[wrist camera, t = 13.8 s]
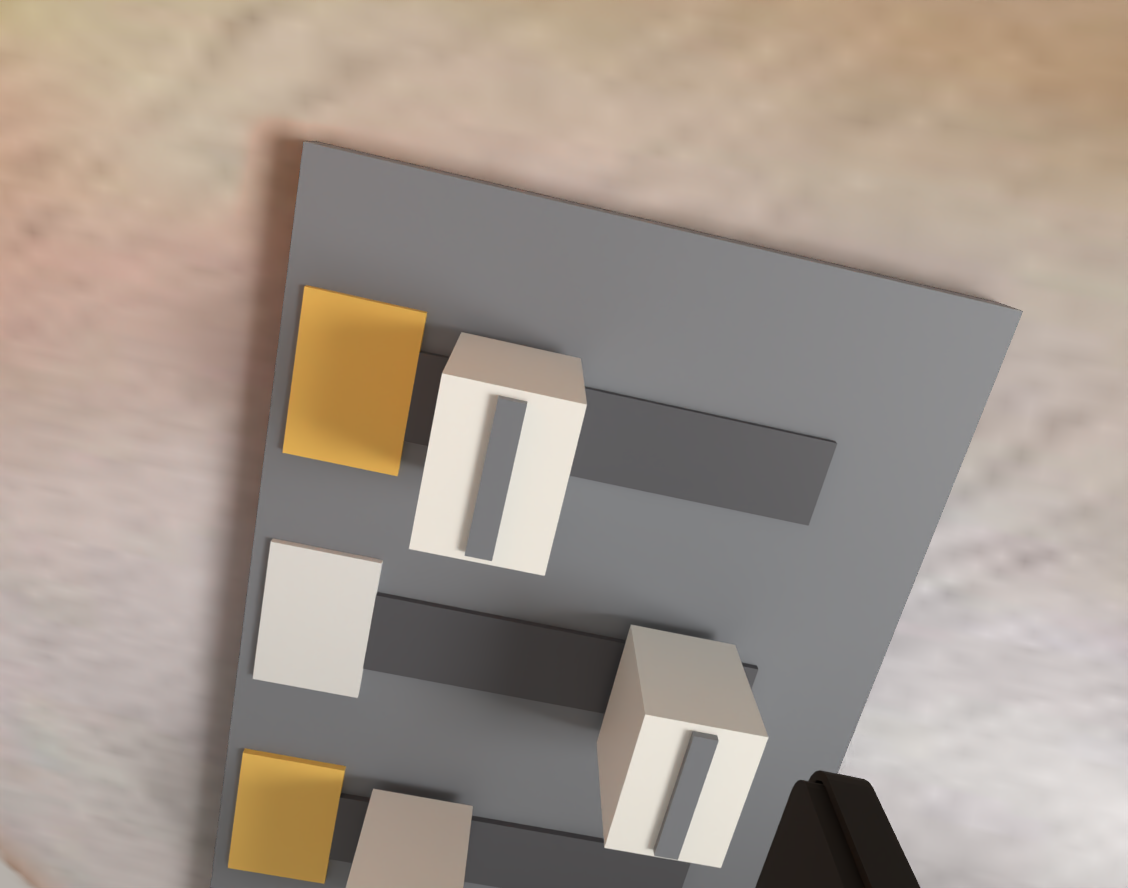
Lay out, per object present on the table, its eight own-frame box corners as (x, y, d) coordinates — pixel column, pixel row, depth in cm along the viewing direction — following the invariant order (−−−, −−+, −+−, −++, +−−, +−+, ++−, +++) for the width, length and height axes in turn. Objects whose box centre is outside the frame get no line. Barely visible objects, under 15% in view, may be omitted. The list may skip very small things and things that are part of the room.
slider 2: (545, 503, 23) (544, 580, 19) (433, 480, 23) (407, 553, 19) (580, 358, 22) (587, 407, 18) (461, 331, 21) (440, 375, 17)
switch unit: (730, 990, 31) (738, 1028, 30) (217, 908, 29) (201, 944, 28) (999, 302, 23) (1026, 312, 22) (316, 141, 22) (300, 141, 20)
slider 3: (696, 760, 26) (722, 874, 22) (596, 742, 25) (604, 854, 21) (734, 644, 24) (770, 743, 20) (630, 624, 24) (646, 719, 20)
